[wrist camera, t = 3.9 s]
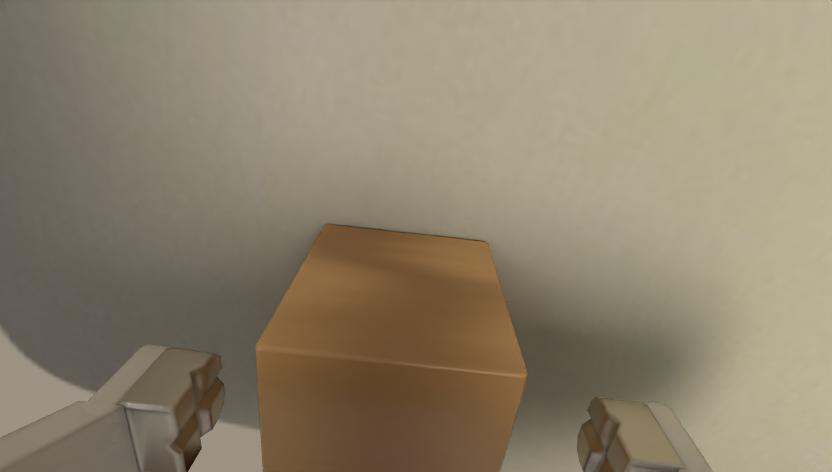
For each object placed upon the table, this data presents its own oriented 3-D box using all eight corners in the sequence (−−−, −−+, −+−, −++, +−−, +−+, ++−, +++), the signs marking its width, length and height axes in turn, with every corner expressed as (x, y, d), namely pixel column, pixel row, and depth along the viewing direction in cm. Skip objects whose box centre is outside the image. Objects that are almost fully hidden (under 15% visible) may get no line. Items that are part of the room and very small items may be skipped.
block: (321, 353, 13) (264, 520, 8) (324, 222, 11) (252, 346, 7) (462, 367, 13) (482, 541, 8) (488, 240, 11) (529, 375, 7)
